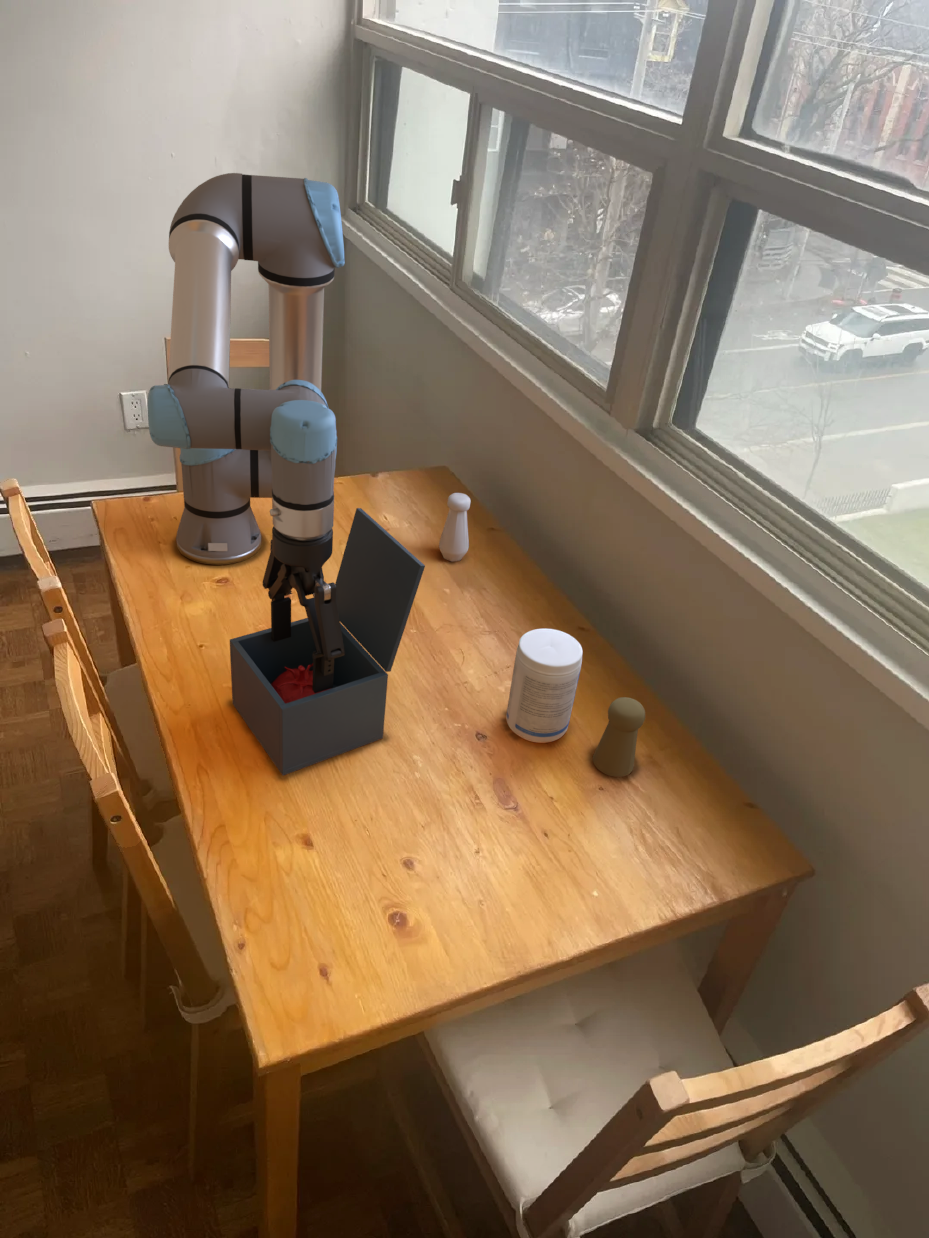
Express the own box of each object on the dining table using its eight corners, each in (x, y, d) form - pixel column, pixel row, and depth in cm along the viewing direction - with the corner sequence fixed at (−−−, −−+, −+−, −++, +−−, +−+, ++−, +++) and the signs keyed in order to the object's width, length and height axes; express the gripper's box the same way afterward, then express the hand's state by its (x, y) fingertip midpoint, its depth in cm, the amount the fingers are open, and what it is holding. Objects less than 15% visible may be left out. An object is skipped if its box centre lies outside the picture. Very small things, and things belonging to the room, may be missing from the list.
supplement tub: (579, 733, 136) (598, 656, 128) (530, 753, 131) (546, 675, 123) (540, 696, 142) (556, 620, 134) (492, 714, 138) (505, 636, 129)
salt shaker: (471, 562, 173) (480, 502, 166) (444, 565, 171) (451, 505, 164) (460, 547, 178) (468, 487, 170) (433, 549, 176) (439, 490, 168)
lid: (420, 565, 116) (425, 565, 117) (356, 507, 127) (361, 508, 127) (385, 672, 123) (390, 671, 124) (327, 608, 134) (332, 608, 134)
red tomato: (303, 753, 125) (306, 704, 120) (251, 718, 129) (252, 669, 123) (350, 716, 132) (355, 668, 127) (299, 684, 136) (301, 636, 130)
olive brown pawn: (585, 751, 133) (600, 694, 127) (621, 744, 135) (637, 688, 129) (604, 780, 129) (620, 722, 122) (641, 772, 131) (658, 715, 124)
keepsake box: (282, 776, 122) (282, 709, 116) (232, 704, 133) (229, 639, 126) (383, 738, 131) (388, 674, 124) (328, 673, 141) (330, 611, 134)
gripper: (234, 490, 118) (239, 623, 131) (321, 582, 103) (317, 723, 115) (287, 480, 122) (287, 610, 135) (378, 567, 107) (368, 705, 119)
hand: (301, 662), depth 125 cm, fingers open, 12 cm apart
